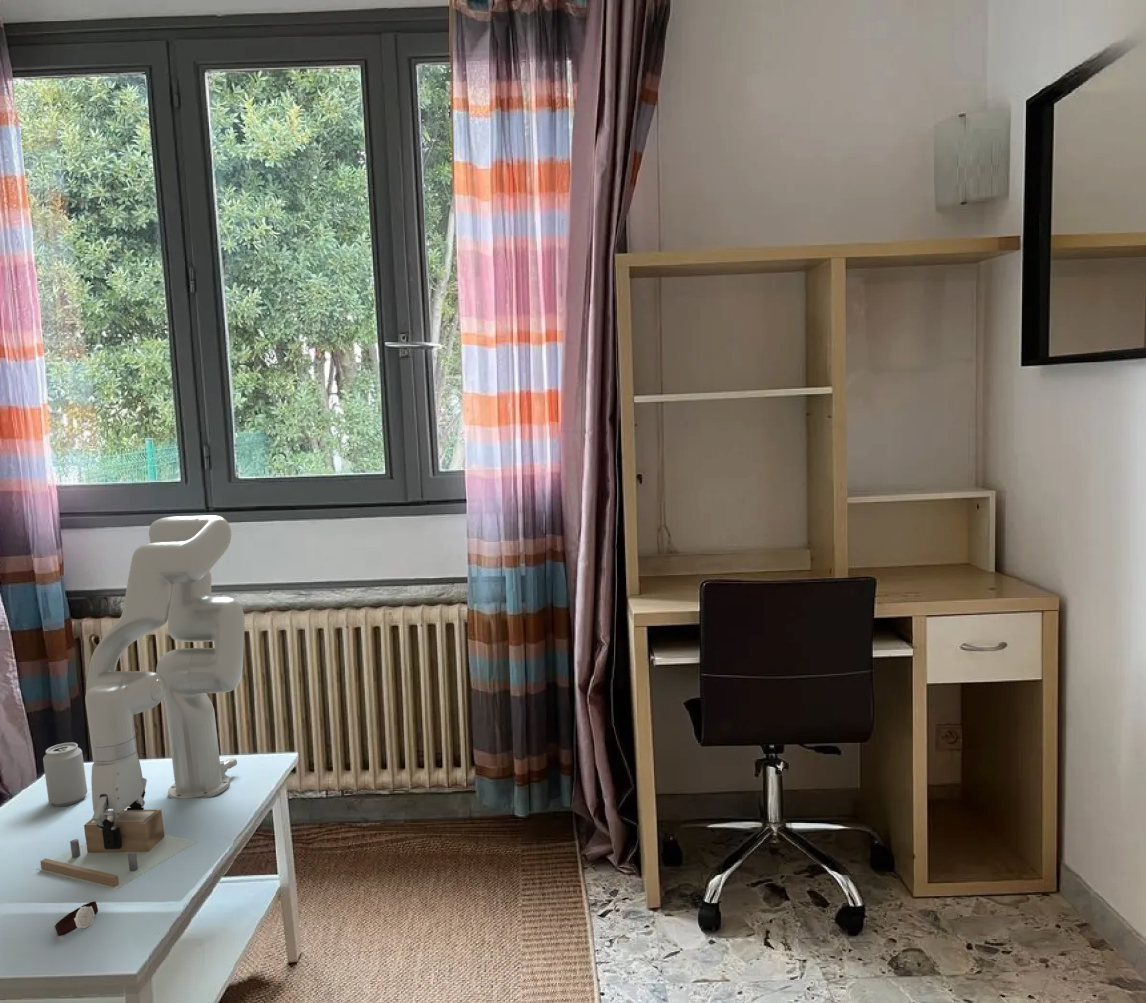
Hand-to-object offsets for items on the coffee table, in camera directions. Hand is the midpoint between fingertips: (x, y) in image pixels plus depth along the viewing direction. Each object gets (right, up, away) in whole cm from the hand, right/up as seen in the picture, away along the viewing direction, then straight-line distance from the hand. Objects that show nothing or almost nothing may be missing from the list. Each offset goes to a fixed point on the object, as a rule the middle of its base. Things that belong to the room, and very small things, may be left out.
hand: (125, 837), depth 182 cm
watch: (+4, -6, -25) cm, 26 cm away
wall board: (0, -3, -4) cm, 5 cm away
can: (-24, -1, +26) cm, 35 cm away
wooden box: (0, -2, 0) cm, 1 cm away
